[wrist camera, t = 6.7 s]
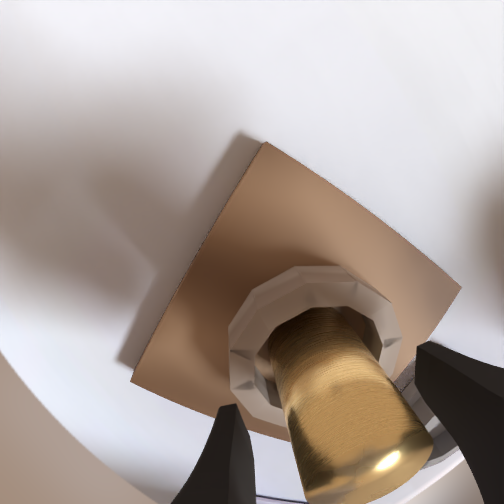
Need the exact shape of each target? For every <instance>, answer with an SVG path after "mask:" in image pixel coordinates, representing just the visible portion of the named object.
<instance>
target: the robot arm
mask: <svg viewBox="0 0 504 504" xmlns="http://www.w3.org/2000/svg"><path fill="white" fill-rule="evenodd" d="M414 384H415V386H416V388H417V389H418V391H419V393H420V395H421V396H422V398H423V400H424V401H425V403H426V404H427V405H428V407H429V408H430V409H431V411H432V412H433V413H434V414H435V416H436V417H437V418H438V420H439V421H440V422H441V423H442V425H443V426H444V427H445V428H446V430H447V431H448V432H449V434H450V435H451V436H452V438H453V439H454V440H455V442H456V443H457V445H458V447H459V449H460V450H461V452H462V454H463V456H464V457H465V459H466V461H467V463H468V465H469V467H470V469H471V471H472V473H473V476H474V478H475V480H476V482H477V484H478V487H479V489H480V492H481V495H482V498H483V501H484V504H504V368H500V367H497V366H493V365H490V364H487V363H484V362H481V361H478V360H475V359H473V358H470V357H467V356H465V355H462V354H460V353H458V352H455V351H453V350H450V349H448V348H446V347H443V346H441V345H439V344H436V343H434V342H431V341H427V342H425V343H423V344H420V345H418V346H417V347H416V366H415V380H414ZM171 504H302V503H294V502H286V501H279V500H272V499H266V498H261V497H256V487H255V469H254V457H253V451H252V445H251V440H250V436H249V433H248V431H247V428H246V426H245V424H244V421H243V419H242V416H241V414H240V411H239V409H238V406H237V404H236V403H234V404H229V405H225V406H220V407H219V409H218V412H217V415H216V418H215V421H214V424H213V427H212V430H211V433H210V435H209V438H208V440H207V442H206V445H205V447H204V450H203V452H202V454H201V456H200V458H199V460H198V462H197V464H196V466H195V468H194V470H193V471H192V473H191V475H190V477H189V478H188V480H187V481H186V483H185V484H184V486H183V488H182V489H181V490H180V492H179V493H178V495H177V496H176V497H175V499H174V500H173V501H172V503H171Z"/></svg>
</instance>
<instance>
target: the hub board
mask: <svg viewBox="0 0 504 504" xmlns="http://www.w3.org/2000/svg"><path fill="white" fill-rule="evenodd" d="M461 288H462V287H461V286H460V285H459V284H458V283H457V282H455V281H454V280H453V279H452V278H451V277H450V276H449V275H448V274H446V273H445V272H444V271H443V270H442V269H441V268H439V267H438V266H437V265H436V264H435V263H434V262H432V261H431V260H430V259H429V258H428V257H427V256H425V255H424V254H423V253H422V252H421V251H419V250H418V249H417V248H416V247H414V246H413V245H412V244H411V243H410V242H408V241H407V240H406V239H405V238H403V237H402V236H401V235H400V234H398V233H397V232H396V231H394V230H393V229H392V228H391V227H389V226H388V225H387V224H385V223H384V222H383V221H382V220H380V219H379V218H378V217H376V216H375V215H374V214H372V213H371V212H370V211H368V210H367V209H366V208H364V207H363V206H361V205H360V204H359V203H357V202H356V201H355V200H353V199H352V198H350V197H349V196H348V195H346V194H345V193H343V192H342V191H341V190H339V189H338V188H336V187H335V186H333V185H332V184H331V183H329V182H328V181H326V180H325V179H323V178H322V177H320V176H319V175H317V174H316V173H314V172H313V171H311V170H310V169H308V168H307V167H305V166H304V165H302V164H301V163H299V162H298V161H296V160H295V159H293V158H292V157H290V156H289V155H287V154H285V153H284V152H282V151H281V150H279V149H277V148H276V147H274V146H273V145H271V144H269V143H268V142H264V143H263V144H262V146H261V147H260V149H259V151H258V152H257V154H256V155H255V157H254V159H253V160H252V162H251V163H250V165H249V167H248V168H247V170H246V172H245V173H244V175H243V176H242V178H241V180H240V181H239V183H238V185H237V186H236V188H235V190H234V191H233V193H232V195H231V196H230V198H229V200H228V201H227V203H226V205H225V206H224V208H223V210H222V211H221V213H220V215H219V217H218V218H217V220H216V222H215V223H214V225H213V227H212V228H211V230H210V232H209V234H208V235H207V237H206V239H205V241H204V242H203V244H202V246H201V248H200V249H199V251H198V253H197V255H196V256H195V258H194V260H193V262H192V263H191V265H190V267H189V269H188V270H187V272H186V274H185V276H184V278H183V279H182V281H181V283H180V285H179V287H178V288H177V290H176V292H175V294H174V296H173V298H172V299H171V301H170V303H169V305H168V307H167V309H166V311H165V312H164V314H163V316H162V318H161V320H160V322H159V324H158V325H157V327H156V329H155V331H154V333H153V335H152V337H151V339H150V341H149V343H148V344H147V346H146V348H145V350H144V352H143V354H142V356H141V358H140V360H139V362H138V364H137V366H136V368H135V370H134V372H133V375H132V378H131V380H130V382H132V383H134V384H136V385H138V386H140V387H142V388H144V389H146V390H148V391H151V392H153V393H155V394H157V395H159V396H162V397H164V398H166V399H168V400H171V401H173V402H175V403H178V404H180V405H182V406H185V407H187V408H190V409H192V410H195V411H197V412H200V413H202V414H205V415H208V416H210V417H213V418H216V415H217V412H218V409H219V407H220V406H225V405H229V404H234V403H236V404H237V406H238V409H239V411H240V414H241V416H242V419H243V421H244V424H245V426H246V428H247V430H251V431H254V432H257V433H260V434H263V435H267V436H270V437H274V438H277V439H281V440H284V441H288V442H291V440H290V436H289V432H288V429H287V425H286V421H285V417H284V413H283V409H282V405H281V401H280V397H279V393H278V389H277V385H276V381H275V377H274V373H273V369H272V365H271V361H270V357H269V353H268V346H267V345H268V338H269V336H270V334H271V333H272V331H273V330H274V329H275V327H276V326H278V325H280V324H282V323H284V322H286V321H287V320H289V319H291V318H293V317H295V316H297V315H299V314H300V313H302V312H304V311H306V310H308V309H309V308H315V307H332V308H334V309H336V310H337V311H339V312H340V313H341V314H342V315H343V317H344V318H345V319H346V320H347V322H348V323H349V324H350V326H351V327H352V328H353V330H354V331H355V332H356V334H357V335H358V336H359V338H360V339H361V340H362V342H363V343H364V344H365V346H366V347H367V348H368V349H369V351H370V352H371V353H372V355H373V356H374V358H375V359H376V360H377V362H378V363H379V364H380V366H381V367H382V368H383V370H384V371H385V372H386V374H387V375H388V376H389V378H390V379H391V380H392V382H394V381H395V380H396V379H397V378H398V376H399V375H400V374H401V373H402V372H403V370H404V369H405V368H406V367H407V365H408V364H409V363H410V361H411V360H412V359H413V358H414V356H415V355H416V347H417V346H418V345H420V344H423V343H425V342H426V340H427V339H428V338H429V336H430V335H431V333H432V332H433V331H434V329H435V328H436V326H437V325H438V323H439V322H440V320H441V319H442V317H443V316H444V314H445V313H446V311H447V310H448V308H449V307H450V305H451V304H452V302H453V301H454V299H455V297H456V296H457V294H458V293H459V291H460V289H461Z"/></svg>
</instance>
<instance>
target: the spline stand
mask: <svg viewBox="0 0 504 504" xmlns="http://www.w3.org/2000/svg"><path fill="white" fill-rule="evenodd" d="M441 346H442V345H441ZM443 347H444V346H443ZM414 380H415V377H414V379H413V380H412V381H411V382H410V383H409V385H408V386H407V387H406V388H405V389H404V390H403V392H402V393H401V394H402V396H403V397H404V398H405V400H406V401H407V402H408V404H409V405H410V407H411V408H412V409H413V411H414V412H415V414H416V415H417V416H418V418H419V419H420V421H421V422H422V423H423V425H424V426H425V428H426V429H427V430H428V432H429V433H430V435H431V436H432V438H433V449H432V452H431V454H430V456H429V458H428V460H427V461H426V463H425V464H424V465H423V467H422V468H421V469H420V470H422V469H425V468H427V467H430V466H433V465H435V464H438V463H440V462H442V461H443V460H445V459H446V458H448V457H449V456H451V455H452V454H454V453H455V452H456V451H458V450H459V447H458V445H457V443H456V442H455V440H454V439H453V438H452V436H451V435H450V434H449V432H448V431H447V430H446V428H445V427H444V426H443V425H442V423H441V422H440V421H439V420H438V418H437V417H436V416H435V414H434V413H433V412H432V411H431V409H430V408H429V407H428V405H427V404H426V403H425V401H424V400H423V398H422V396H421V395H420V393H419V391H418V389H417V388H416V386H415V384H414Z"/></svg>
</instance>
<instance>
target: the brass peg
mask: <svg viewBox="0 0 504 504" xmlns="http://www.w3.org/2000/svg"><path fill="white" fill-rule="evenodd" d="M267 346H268V353H269V357H270V361H271V365H272V369H273V373H274V377H275V381H276V385H277V389H278V393H279V397H280V401H281V405H282V409H283V413H284V417H285V421H286V425H287V429H288V432H289V436H290V440H291V444H292V448H293V452H294V456H295V460H296V464H297V467H298V471H299V475H300V479H301V483H302V487H303V491H304V494H305V498H306V500H307V502H308V503H310V504H366V503H368V502H371V501H374V500H376V499H378V498H381V497H383V496H385V495H387V494H388V493H390V492H392V491H394V490H395V489H397V488H398V487H400V486H401V485H403V484H404V483H406V482H407V481H408V480H409V479H411V478H412V477H413V476H414V475H415V474H416V473H417V472H418V471H419V470H420V469H421V468H422V467H423V465H424V464H425V463H426V461H427V460H428V458H429V456H430V454H431V452H432V449H433V438H432V436H431V435H430V433H429V432H428V430H427V429H426V428H425V426H424V425H423V423H422V422H421V421H420V419H419V418H418V416H417V415H416V414H415V412H414V411H413V409H412V408H411V407H410V405H409V404H408V402H407V401H406V400H405V398H404V397H403V396H402V394H401V393H400V391H399V390H398V389H397V387H396V386H395V385H394V383H393V382H392V380H391V379H390V378H389V376H388V375H387V374H386V372H385V371H384V370H383V368H382V367H381V366H380V364H379V363H378V362H377V360H376V359H375V358H374V356H373V355H372V353H371V352H370V351H369V349H368V348H367V347H366V346H365V344H364V343H363V342H362V340H361V339H360V338H359V336H358V335H357V334H356V332H355V331H354V330H353V328H352V327H351V326H350V324H349V323H348V322H347V320H346V319H345V318H344V317H343V315H342V314H341V313H340V312H339V311H337V310H336V309H334V308H332V307H315V308H309V309H308V310H306V311H304V312H302V313H300V314H299V315H297V316H295V317H293V318H291V319H289V320H287V321H286V322H284V323H282V324H280V325H278V326H276V327H275V329H274V330H273V331H272V333H271V334H270V336H269V338H268V345H267Z"/></svg>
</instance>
